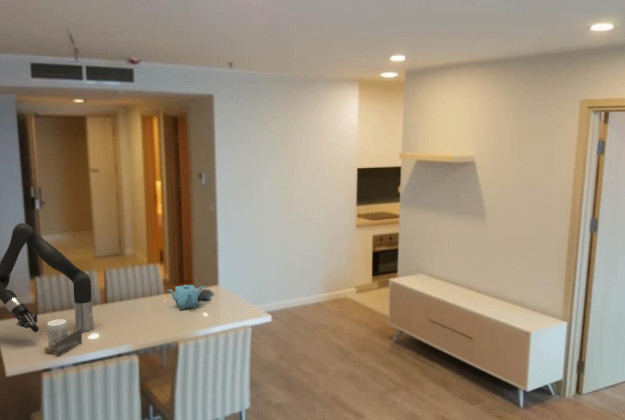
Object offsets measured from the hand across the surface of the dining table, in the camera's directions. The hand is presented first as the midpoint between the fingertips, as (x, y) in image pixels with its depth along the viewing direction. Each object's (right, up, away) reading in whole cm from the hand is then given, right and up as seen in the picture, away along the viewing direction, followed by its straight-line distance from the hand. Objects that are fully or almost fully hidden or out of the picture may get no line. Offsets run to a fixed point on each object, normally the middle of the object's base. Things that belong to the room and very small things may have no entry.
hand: (37, 331), depth 278 cm
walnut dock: (+15, -9, -3) cm, 18 cm away
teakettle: (+65, +1, +64) cm, 92 cm away
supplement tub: (+13, -9, -3) cm, 16 cm away
